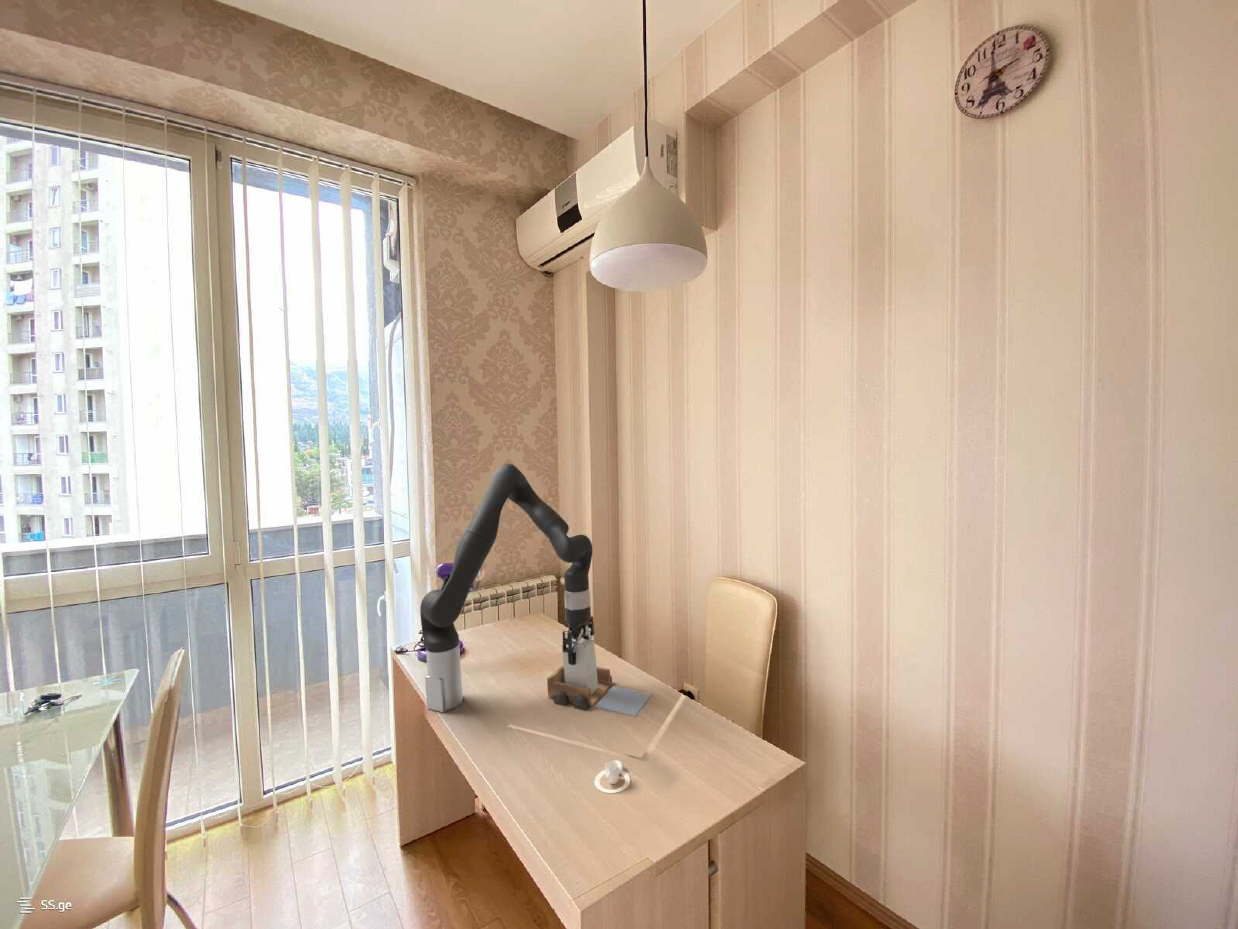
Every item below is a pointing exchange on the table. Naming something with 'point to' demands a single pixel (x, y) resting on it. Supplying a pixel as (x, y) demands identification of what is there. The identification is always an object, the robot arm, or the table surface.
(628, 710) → the tailgate
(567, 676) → the skincare box
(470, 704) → the table surface
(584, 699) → the wooden toy cart
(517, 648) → the table surface
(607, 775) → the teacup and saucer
